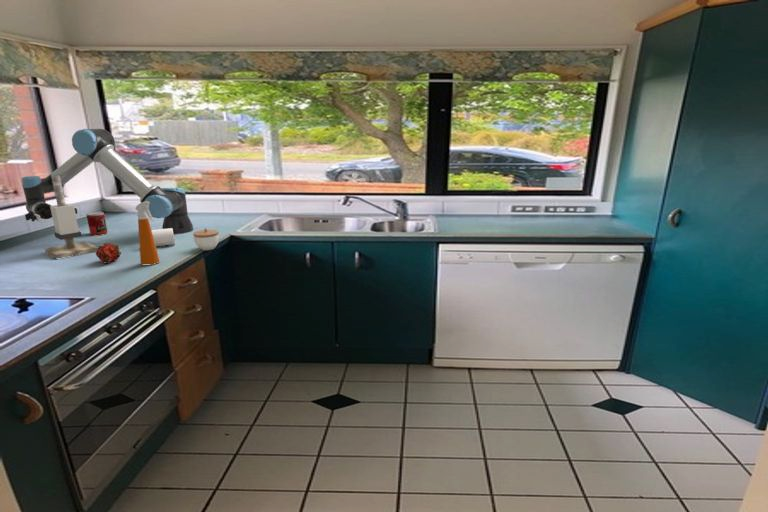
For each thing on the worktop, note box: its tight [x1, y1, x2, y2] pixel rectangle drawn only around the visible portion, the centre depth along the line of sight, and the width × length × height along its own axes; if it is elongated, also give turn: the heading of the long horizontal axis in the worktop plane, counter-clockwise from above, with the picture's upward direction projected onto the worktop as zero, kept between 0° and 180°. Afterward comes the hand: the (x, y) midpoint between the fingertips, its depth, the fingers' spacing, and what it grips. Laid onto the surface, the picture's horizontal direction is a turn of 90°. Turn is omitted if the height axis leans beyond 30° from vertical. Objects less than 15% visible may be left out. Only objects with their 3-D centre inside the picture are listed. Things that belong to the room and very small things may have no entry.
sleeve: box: [50, 203, 80, 235], centre depth 198 cm, size 7×7×12 cm
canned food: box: [86, 211, 108, 236], centre depth 233 cm, size 8×8×11 cm
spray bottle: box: [135, 201, 160, 265], centre depth 181 cm, size 7×11×26 cm, turn 58°
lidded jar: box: [193, 228, 220, 251], centre depth 206 cm, size 11×11×9 cm
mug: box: [151, 228, 176, 247], centre depth 213 cm, size 12×10×8 cm
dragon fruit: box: [95, 242, 122, 263], centre depth 187 cm, size 8×8×12 cm
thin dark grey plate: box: [53, 230, 83, 241], centre depth 200 cm, size 8×8×2 cm
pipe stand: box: [44, 176, 98, 259], centre depth 197 cm, size 16×16×34 cm
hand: (57, 216), depth 204 cm, fingers open, 13 cm apart
